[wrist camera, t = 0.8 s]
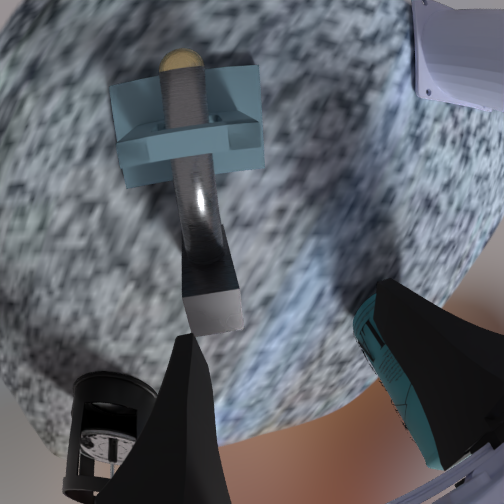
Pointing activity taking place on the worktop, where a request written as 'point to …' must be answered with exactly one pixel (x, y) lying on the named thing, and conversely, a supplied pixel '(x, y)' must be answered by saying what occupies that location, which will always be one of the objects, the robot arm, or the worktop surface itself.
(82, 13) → the worktop surface
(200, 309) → the hook rod
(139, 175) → the eye bracket
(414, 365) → the robot arm
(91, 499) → the french press
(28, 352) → the worktop surface
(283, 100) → the worktop surface
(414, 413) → the beverage bottle
